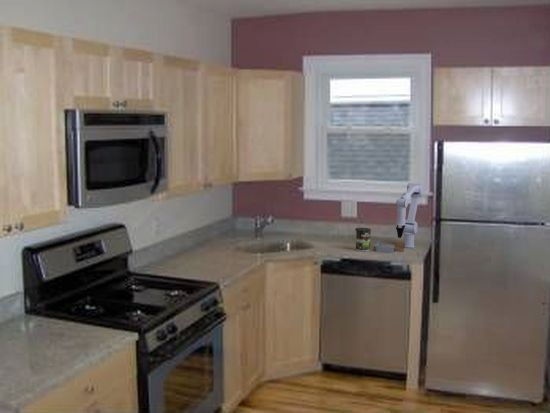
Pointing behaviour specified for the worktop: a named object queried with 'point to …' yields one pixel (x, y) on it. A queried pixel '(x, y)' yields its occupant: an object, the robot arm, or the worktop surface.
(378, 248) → the cleat wall
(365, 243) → the coffee can
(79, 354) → the worktop surface
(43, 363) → the worktop surface
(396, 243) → the cabinet block
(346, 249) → the worktop surface
